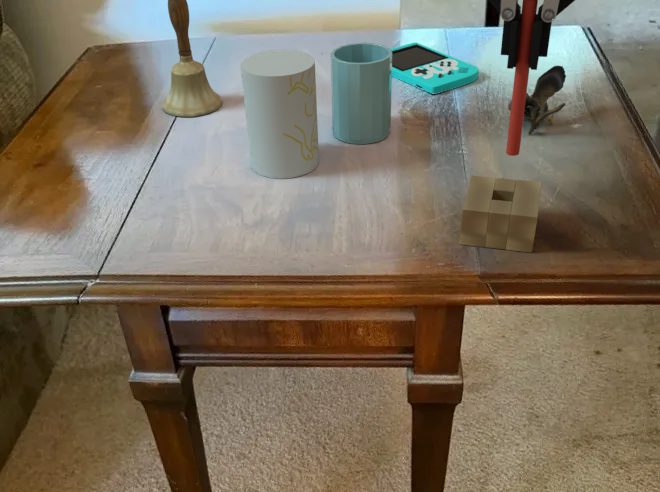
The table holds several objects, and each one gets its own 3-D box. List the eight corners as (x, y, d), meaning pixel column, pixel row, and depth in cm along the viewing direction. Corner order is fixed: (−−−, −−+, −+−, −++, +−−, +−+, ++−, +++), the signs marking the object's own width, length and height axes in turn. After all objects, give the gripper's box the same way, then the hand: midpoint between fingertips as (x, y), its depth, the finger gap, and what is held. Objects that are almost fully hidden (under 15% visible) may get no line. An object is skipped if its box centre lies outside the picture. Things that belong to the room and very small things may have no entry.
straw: (519, 150, 72) (538, -4, 64) (518, 156, 71) (537, 0, 63) (506, 149, 73) (523, -5, 64) (505, 155, 72) (522, 0, 63)
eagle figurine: (579, 129, 92) (578, 87, 98) (554, 84, 88) (553, 43, 94) (520, 154, 96) (522, 113, 102) (494, 112, 93) (497, 72, 98)
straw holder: (536, 216, 79) (541, 182, 77) (532, 253, 74) (537, 217, 71) (468, 209, 81) (471, 175, 78) (459, 244, 76) (462, 209, 73)
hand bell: (229, 110, 104) (215, -13, 94) (169, 121, 102) (148, -4, 92) (214, 89, 110) (199, -29, 100) (157, 99, 108) (136, -21, 98)
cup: (304, 182, 87) (298, 79, 79) (239, 173, 89) (228, 72, 82) (328, 151, 93) (325, 52, 85) (267, 143, 95) (258, 47, 88)
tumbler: (395, 122, 99) (397, 44, 92) (383, 146, 93) (384, 65, 87) (341, 118, 100) (339, 41, 94) (326, 141, 95) (323, 61, 89)
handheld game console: (431, 96, 105) (432, 86, 104) (362, 63, 116) (362, 54, 115) (486, 78, 109) (486, 69, 108) (414, 49, 120) (415, 40, 119)
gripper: (437, -178, 54) (427, 75, 66) (670, -186, 51) (617, 84, 62) (452, -190, 60) (441, 45, 71) (663, -198, 56) (615, 52, 68)
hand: (523, 62), depth 67 cm, fingers closed on straw, 1 cm apart
